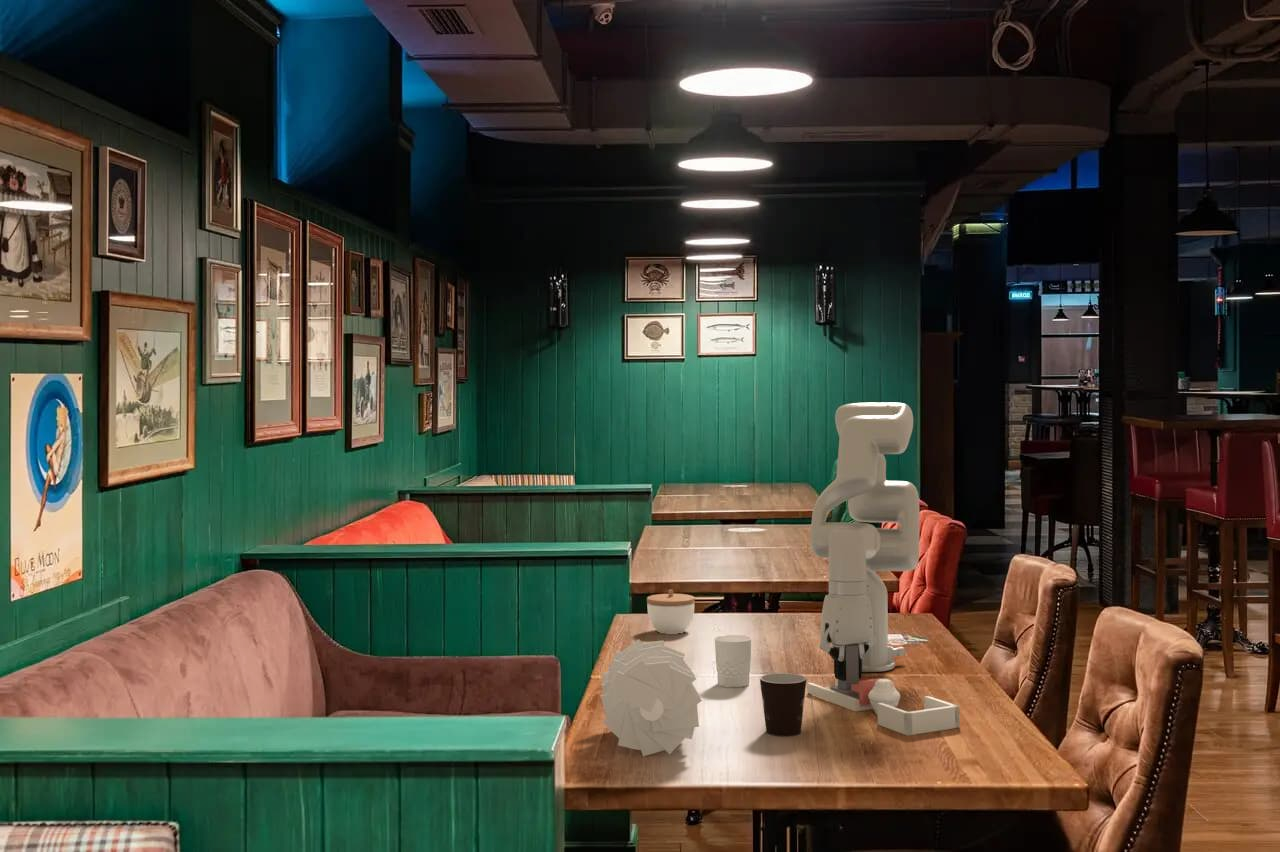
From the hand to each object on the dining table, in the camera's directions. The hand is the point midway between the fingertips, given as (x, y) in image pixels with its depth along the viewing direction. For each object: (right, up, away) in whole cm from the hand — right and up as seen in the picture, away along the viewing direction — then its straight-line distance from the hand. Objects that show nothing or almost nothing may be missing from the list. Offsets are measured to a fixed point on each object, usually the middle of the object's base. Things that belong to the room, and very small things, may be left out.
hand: (848, 677), depth 262 cm
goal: (+10, -5, -20) cm, 23 cm away
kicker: (+1, -4, -2) cm, 5 cm away
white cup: (-22, -5, +16) cm, 28 cm away
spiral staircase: (-40, -6, -29) cm, 50 cm away
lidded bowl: (-34, -3, +77) cm, 84 cm away
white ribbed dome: (+5, -5, -11) cm, 13 cm away
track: (0, -5, +1) cm, 5 cm away
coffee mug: (-15, -6, -22) cm, 27 cm away
